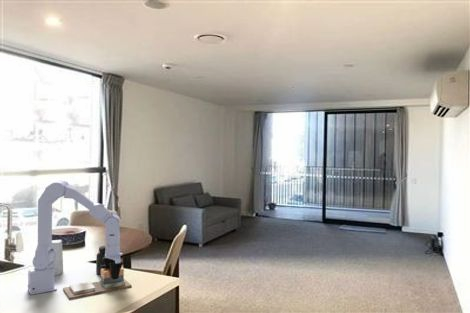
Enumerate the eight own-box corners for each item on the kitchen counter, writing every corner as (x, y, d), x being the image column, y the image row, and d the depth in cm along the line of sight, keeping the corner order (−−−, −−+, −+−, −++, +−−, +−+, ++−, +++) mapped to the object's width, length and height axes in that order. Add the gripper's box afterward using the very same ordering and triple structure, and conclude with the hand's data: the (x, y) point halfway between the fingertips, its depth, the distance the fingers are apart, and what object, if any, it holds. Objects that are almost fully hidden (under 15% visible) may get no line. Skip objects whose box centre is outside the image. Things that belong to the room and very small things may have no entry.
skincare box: (63, 270, 177) (63, 239, 177) (60, 275, 171) (60, 242, 171) (43, 272, 175) (43, 240, 175) (40, 276, 169) (40, 243, 169)
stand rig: (69, 299, 143) (69, 294, 143) (63, 290, 153) (63, 285, 153) (131, 287, 157) (131, 282, 157) (121, 279, 166) (122, 274, 166)
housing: (123, 280, 158) (123, 268, 158) (104, 284, 154) (104, 271, 154) (119, 277, 162) (119, 265, 162) (100, 281, 158) (100, 268, 158)
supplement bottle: (102, 276, 170) (103, 249, 170) (92, 273, 174) (93, 247, 174) (115, 272, 176) (115, 246, 176) (105, 269, 180) (105, 244, 179)
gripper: (128, 246, 154) (127, 279, 154) (116, 239, 166) (116, 270, 166) (110, 248, 150) (110, 282, 150) (100, 241, 162) (100, 273, 162)
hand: (112, 276), depth 158 cm, fingers open, 7 cm apart
